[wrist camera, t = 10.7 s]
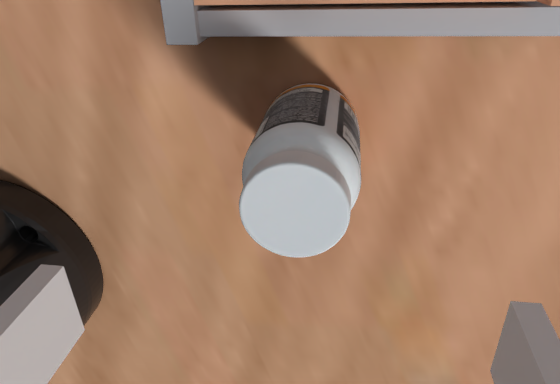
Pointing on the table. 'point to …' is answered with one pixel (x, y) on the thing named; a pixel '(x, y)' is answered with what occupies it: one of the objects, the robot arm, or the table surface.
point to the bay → (358, 20)
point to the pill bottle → (302, 172)
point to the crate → (349, 1)
